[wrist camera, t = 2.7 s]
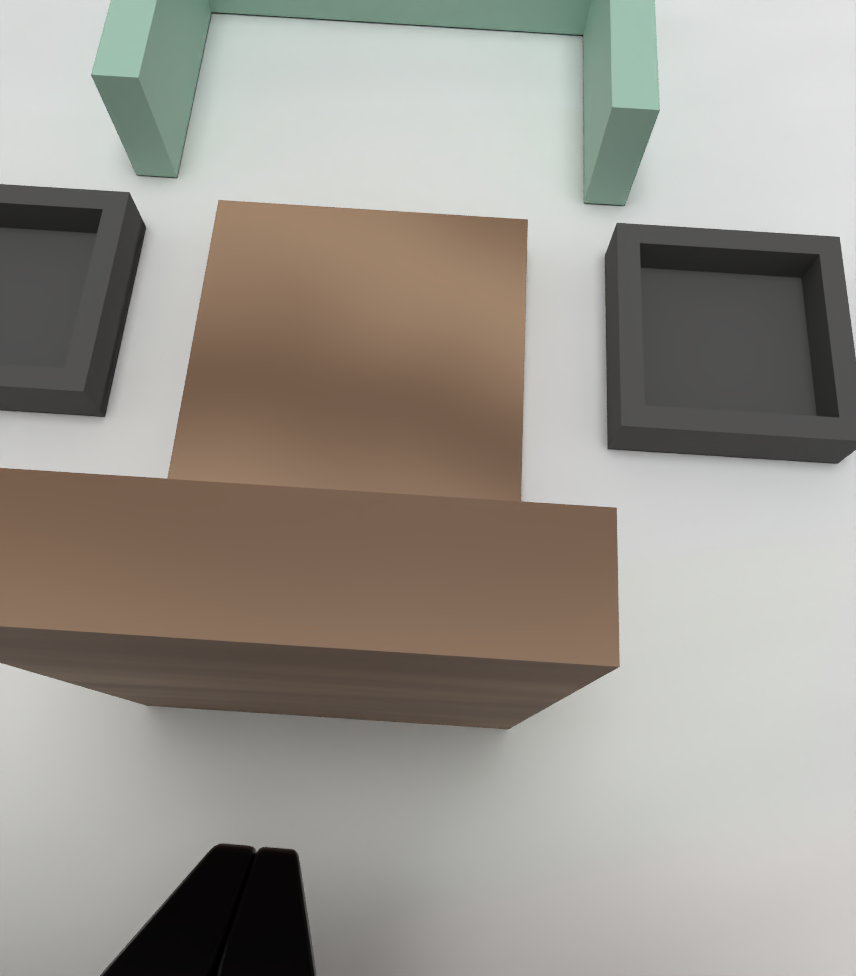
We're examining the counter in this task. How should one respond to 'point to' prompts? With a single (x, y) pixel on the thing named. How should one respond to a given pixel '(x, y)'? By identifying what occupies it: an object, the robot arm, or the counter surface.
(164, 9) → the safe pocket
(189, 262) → the counter surface
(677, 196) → the counter surface
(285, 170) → the counter surface
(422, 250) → the bookend
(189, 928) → the robot arm
